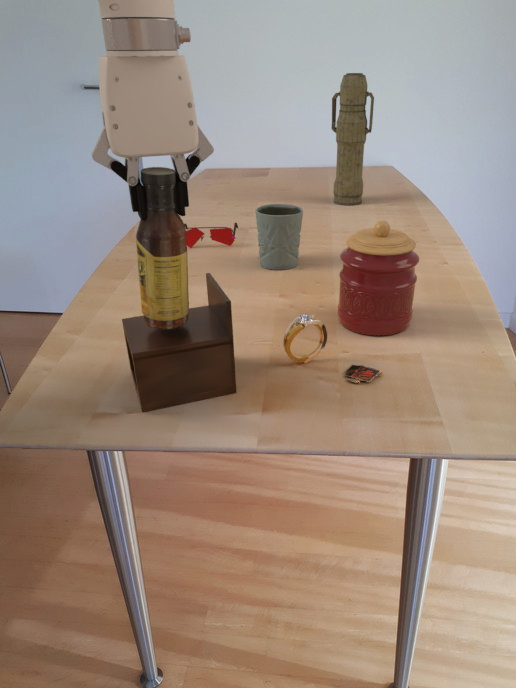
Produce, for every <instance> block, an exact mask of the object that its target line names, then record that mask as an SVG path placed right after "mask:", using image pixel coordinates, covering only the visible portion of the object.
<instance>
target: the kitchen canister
mask: <svg viewBox="0 0 516 688" xmlns="http://www.w3.org/2000/svg"><path fill="white" fill-rule="evenodd" d="M345 244H346V246H347V247H346V248H345V249H343V250H341V253H340V254H339V256H340V260H341V262H342V268H341V270H340V271H339V275H338V276H339V293H338V294H339V296H338V304H337V315H338V321H339V324H340V325H342V327H344V328H346V329H347V330H349V331H351V332H354V333H357V334H361V335H365V336H375V337H376V335H377V336H380V335H382V336H390V335H396V334H399V333H401V332H404V331H405V330H406V329H407V328H408V327H409V326H410V324H411V321H412V319H413V313H414V309H413V306H414V305H413V304H414V297H415V290H416V283H417V281H418V275H417V274H416V266H417V265H418V264H419V262H420V256H419V254H418V253H417V252H416V251H415V248H416V246H417V242H416V241H415V240H414V239H413V238H411V237H409V235H408V234H406V232H404V231H401V230H398V229H394V228H391V225H390V224H389V222H388V221H386V220H378V221H377V222H376V223H375V224H374V226H373V227H369V228H363V229H361V230H358V231H357V232H355V233H354V234H353V235H351V236H349V237H347V238H346V241H345ZM398 332H399V333H398ZM395 333H396V334H395ZM380 337H381V336H380Z"/></svg>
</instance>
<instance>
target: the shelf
mask: <svg viewBox="0 0 516 688" xmlns="http://www.w3.org/2000/svg"><path fill="white" fill-rule="evenodd" d="M205 280H206V293H207V303H208V305H202V306H195V307H189V310H188V321H187V322H186V323H185V324H184V325H183V326H181V327H180V328H176V329H169V330H168V329H166V330H164V329H156V328H151V327H149V326H148V325H147V324H146V323H145V321H144V317H143V315H138V316H133V317H126V318H121V323H122V329H123V335H124V339H125V346H126V350H127V351H126V352H127V357H128V363H129V367H130V369H129V370H130V374H131V378H132V380H133V384H134V388H135V392H136V395H137V399H138V403H139V406H140V410H141V413H145V412H150V411H155V410H160V409H164V408H169V407H174V406H178V405H183V404H188V403H193V402H198V401H203V400H207V399H212V398H217V397H223V396H227V395H230V394H231V395H232V394H236V393H237V379H236V378H237V377H236V375H237V374H236V360H235V346H234V345H235V343H234V342H235V341H234V330H233V329H234V328H233V327H234V326H233V312H232V311H233V310H232V301H231V299H230V298H229V296H228V295H227V294H226V292H225V291H224V289H222V287H221V286H220V285H219V283H218V282H217V280H216V279H215V278H214V276H213V275H212V274H211V272H207V273H205Z"/></svg>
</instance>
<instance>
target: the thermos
mask: <svg viewBox="0 0 516 688" xmlns="http://www.w3.org/2000/svg"><path fill="white" fill-rule="evenodd" d="M367 97H370V109H369V110H370V111H369V122H368V118H367V110H366V107H367ZM337 98H339V110H338V116H337ZM374 104H375V96H374V95H373V93H372V92H369V91H368V81H367V77H366V74H364V73H363V72H348V73H345V74H343V76H342V79H341V82H340V86H339V92H335V93H334V95H333V96H332V97H331V130H332V131H333V132H334V133H335V143H336V144H337V145H336V167H335V180H334V182H333V203H334V204H335V205H339V206H357V205H360V204H362V203H363V199H362V198H363V194H364V179H363V170H364V169H363V168H364V154H365V144H366V142H367V135H368V134H371V133H372V129H373V120H374V119H373V118H374V106H375V105H374ZM368 123H369V124H368Z"/></svg>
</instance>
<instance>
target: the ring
mask: <svg viewBox="0 0 516 688" xmlns="http://www.w3.org/2000/svg"><path fill="white" fill-rule="evenodd" d="M296 326H297V327H296ZM309 326H315V327H316V328H317V330H318V332H319V342H318V345H317V347H316V348H315V349H314V351H312V352H311V353H309V354H302V355H301V356H297V355H294V354H293V353H292V351H291V346H292V343H293V340H294V339H295V338H296V337H297V335H298V334H300V333H301V331H303V330H305V328H306V327H309ZM282 342H283V343H282V344H283V349H284V352H285V354H286V355H287V356H288V357H289V359H290V360H292V361H293V362H295V363H304V364H308V363H310V361H312V360H314V359H316V358H317V357H318V356H319V355H321V353H322V352H323V350H324V349H325V347H326V344H327V342H328V331H327V327H326V325H325V324H324V323H323V322H322V321H321V320H319V319H315V313H312V314H311V315H307V313H306V312H303V313H300V314H299V315H297V316H296V317H295V318H294V319H293V320H291V322H290V323H289V324H288V326H287V327H286V330H285V332H284V336H283V341H282Z"/></svg>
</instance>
